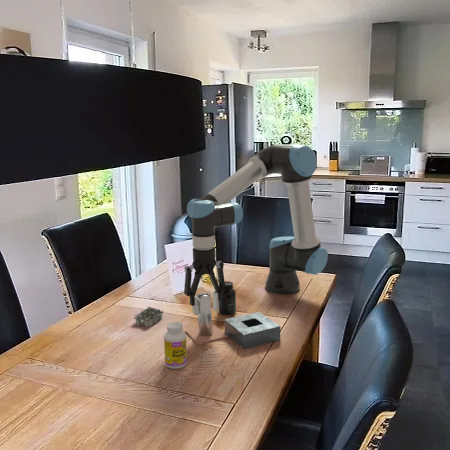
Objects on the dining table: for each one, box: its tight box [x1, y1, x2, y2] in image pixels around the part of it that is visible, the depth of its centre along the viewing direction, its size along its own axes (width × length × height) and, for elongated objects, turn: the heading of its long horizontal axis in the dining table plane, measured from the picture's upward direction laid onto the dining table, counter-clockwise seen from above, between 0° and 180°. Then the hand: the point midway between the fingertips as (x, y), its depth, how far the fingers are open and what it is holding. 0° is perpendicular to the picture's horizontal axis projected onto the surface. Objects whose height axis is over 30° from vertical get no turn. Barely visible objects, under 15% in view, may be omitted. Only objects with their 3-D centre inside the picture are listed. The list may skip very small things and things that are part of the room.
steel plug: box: [195, 292, 213, 336], centre depth 161 cm, size 5×5×14 cm
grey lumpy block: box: [133, 306, 164, 328], centre depth 175 cm, size 11×8×4 cm
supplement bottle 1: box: [163, 321, 188, 370], centre depth 142 cm, size 7×7×13 cm
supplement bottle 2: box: [218, 280, 237, 316], centre depth 181 cm, size 7×7×12 cm
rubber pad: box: [185, 323, 228, 345], centre depth 163 cm, size 11×11×1 cm
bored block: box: [224, 311, 281, 350], centre depth 161 cm, size 14×14×5 cm
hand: (205, 311), depth 161 cm, fingers open, 7 cm apart
